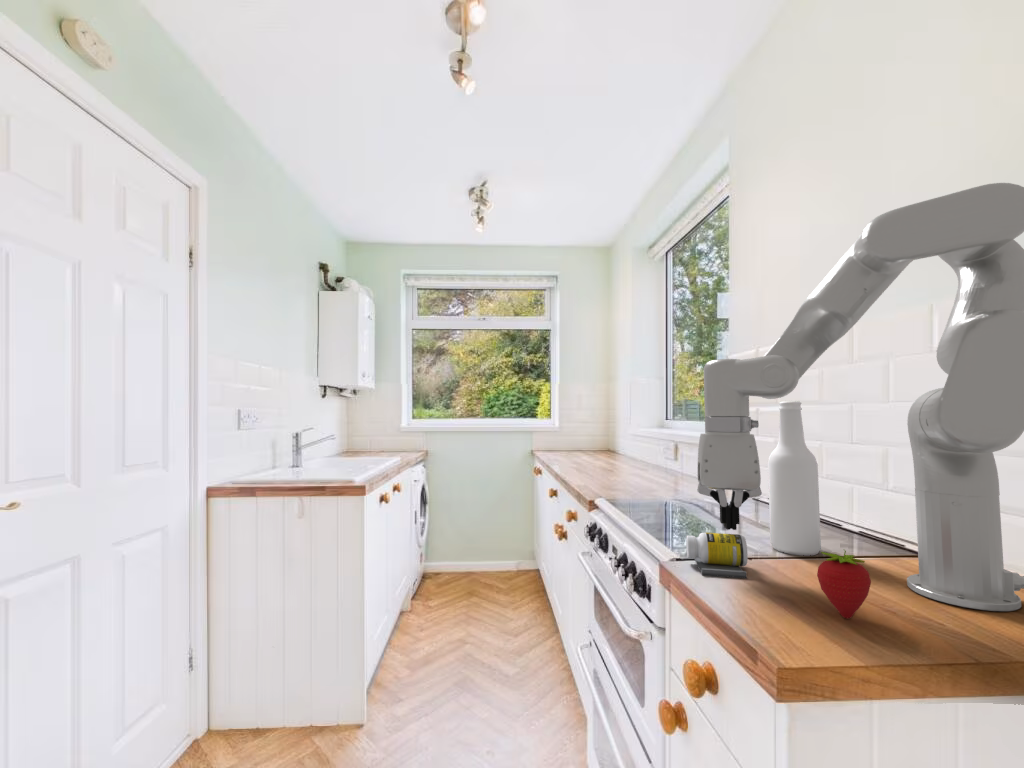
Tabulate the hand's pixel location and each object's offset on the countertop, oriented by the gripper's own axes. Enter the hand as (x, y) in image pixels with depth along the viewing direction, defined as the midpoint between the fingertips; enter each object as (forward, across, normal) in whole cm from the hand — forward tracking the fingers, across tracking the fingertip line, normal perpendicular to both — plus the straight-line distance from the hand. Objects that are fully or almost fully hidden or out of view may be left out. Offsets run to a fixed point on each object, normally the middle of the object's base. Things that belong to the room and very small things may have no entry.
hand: (729, 527), depth 86 cm
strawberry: (+7, -10, +20) cm, 23 cm away
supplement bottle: (+4, -3, 0) cm, 5 cm away
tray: (+7, +2, 0) cm, 7 cm away
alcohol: (+7, -15, -14) cm, 22 cm away
